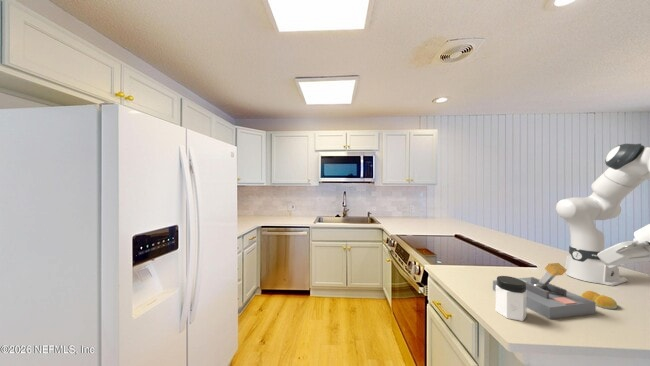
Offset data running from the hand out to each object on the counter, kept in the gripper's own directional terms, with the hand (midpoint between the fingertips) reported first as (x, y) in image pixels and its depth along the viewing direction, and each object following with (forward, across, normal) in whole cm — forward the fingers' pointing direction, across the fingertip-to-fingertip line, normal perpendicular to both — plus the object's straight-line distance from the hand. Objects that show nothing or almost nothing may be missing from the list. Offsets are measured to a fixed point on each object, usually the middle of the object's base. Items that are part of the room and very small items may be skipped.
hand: (610, 265), depth 72 cm
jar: (+25, -20, -5) cm, 33 cm away
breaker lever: (+27, 0, +3) cm, 27 cm away
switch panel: (+30, 0, 0) cm, 30 cm away
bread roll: (+26, +20, -5) cm, 33 cm away
